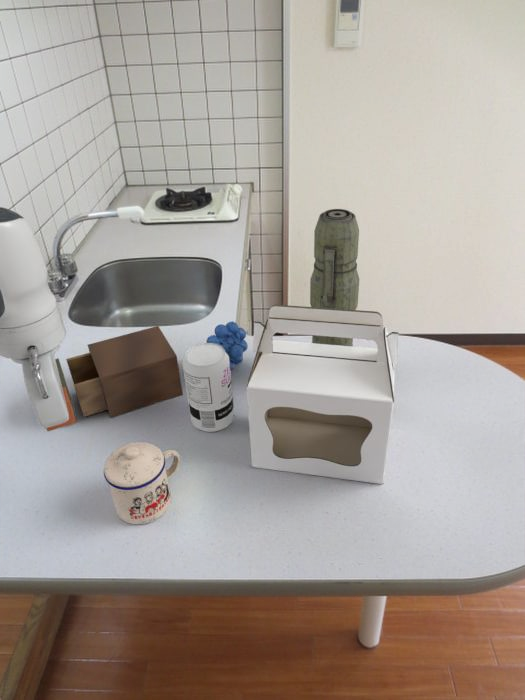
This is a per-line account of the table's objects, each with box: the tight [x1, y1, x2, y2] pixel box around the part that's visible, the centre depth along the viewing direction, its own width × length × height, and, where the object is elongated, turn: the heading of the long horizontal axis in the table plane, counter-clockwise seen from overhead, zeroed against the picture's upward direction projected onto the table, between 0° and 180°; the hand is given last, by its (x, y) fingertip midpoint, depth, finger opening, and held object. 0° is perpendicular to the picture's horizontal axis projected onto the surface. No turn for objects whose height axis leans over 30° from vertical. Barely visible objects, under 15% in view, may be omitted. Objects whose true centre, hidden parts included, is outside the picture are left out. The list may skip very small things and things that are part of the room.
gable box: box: [245, 304, 399, 485], centre depth 84 cm, size 22×13×28 cm, turn 78°
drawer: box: [55, 352, 108, 425], centre depth 102 cm, size 18×11×8 cm, turn 116°
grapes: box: [205, 320, 248, 372], centre depth 108 cm, size 12×7×12 cm, turn 140°
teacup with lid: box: [103, 441, 181, 525], centre depth 81 cm, size 12×9×12 cm
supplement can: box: [182, 342, 236, 433], centre depth 95 cm, size 8×8×15 cm
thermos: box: [309, 208, 360, 347], centre depth 98 cm, size 9×12×35 cm
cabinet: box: [87, 325, 184, 418], centre depth 105 cm, size 15×13×10 cm
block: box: [45, 387, 77, 432], centre depth 76 cm, size 4×4×4 cm
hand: (56, 410), depth 76 cm, fingers closed on block, 4 cm apart
